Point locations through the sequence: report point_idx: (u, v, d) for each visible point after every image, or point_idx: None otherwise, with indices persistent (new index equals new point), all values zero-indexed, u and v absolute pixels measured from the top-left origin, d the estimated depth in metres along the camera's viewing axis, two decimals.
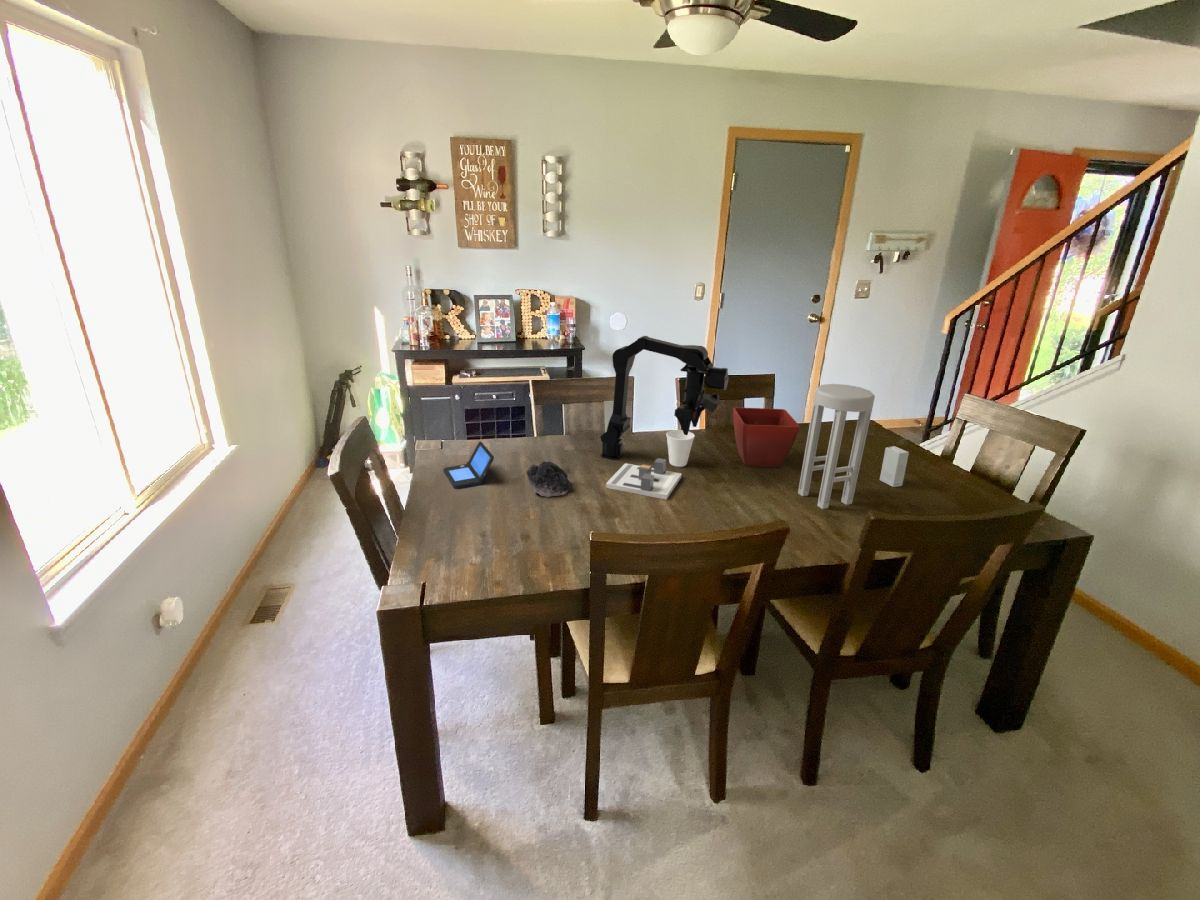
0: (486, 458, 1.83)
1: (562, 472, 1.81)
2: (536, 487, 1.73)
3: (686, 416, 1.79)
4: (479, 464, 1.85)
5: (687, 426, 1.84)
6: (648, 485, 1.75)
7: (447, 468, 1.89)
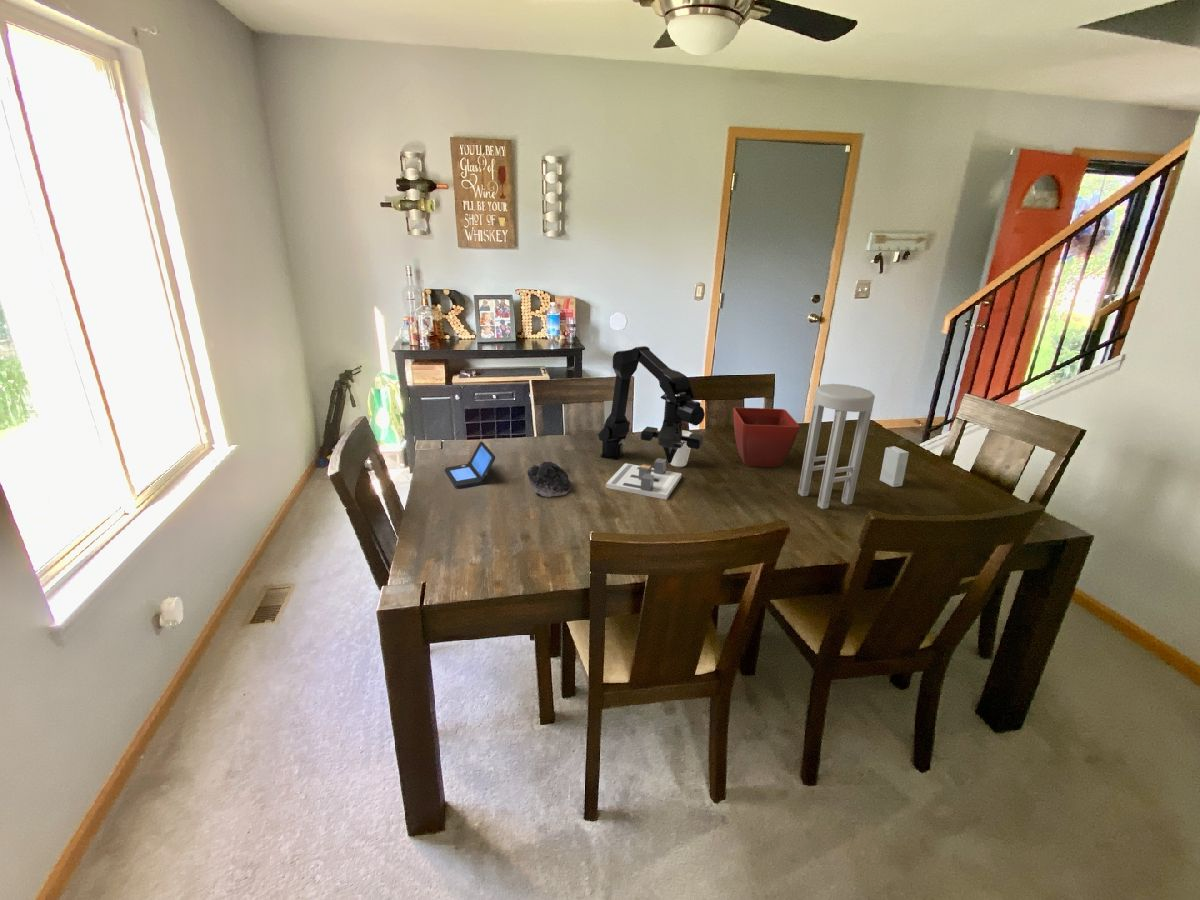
0: (487, 458, 1.83)
1: (563, 472, 1.81)
2: (537, 487, 1.73)
3: None
4: (480, 464, 1.85)
5: None
6: (648, 485, 1.75)
7: (448, 468, 1.89)
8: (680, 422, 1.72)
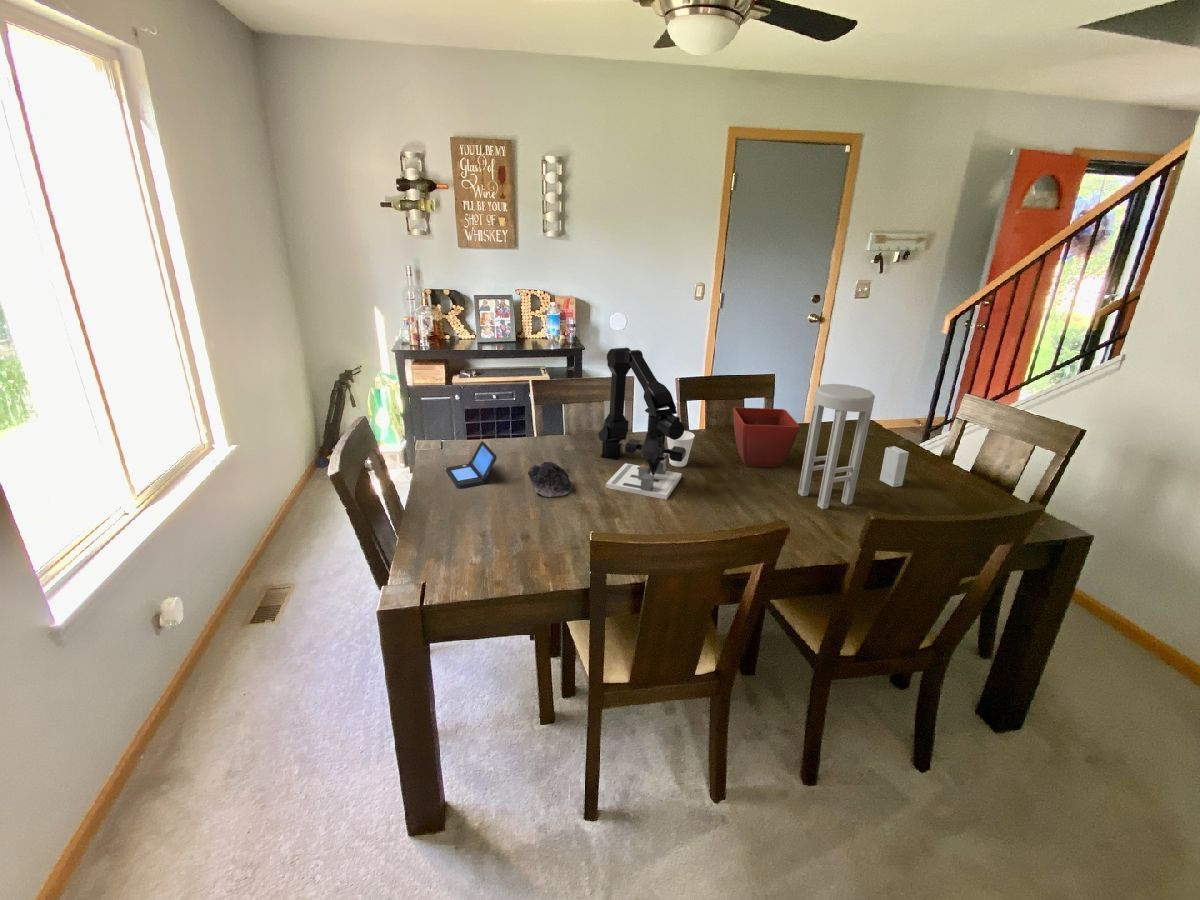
0: (489, 457, 1.83)
1: (563, 472, 1.81)
2: (538, 487, 1.73)
3: None
4: (482, 463, 1.85)
5: None
6: (648, 485, 1.75)
7: (449, 468, 1.89)
8: (663, 435, 1.76)
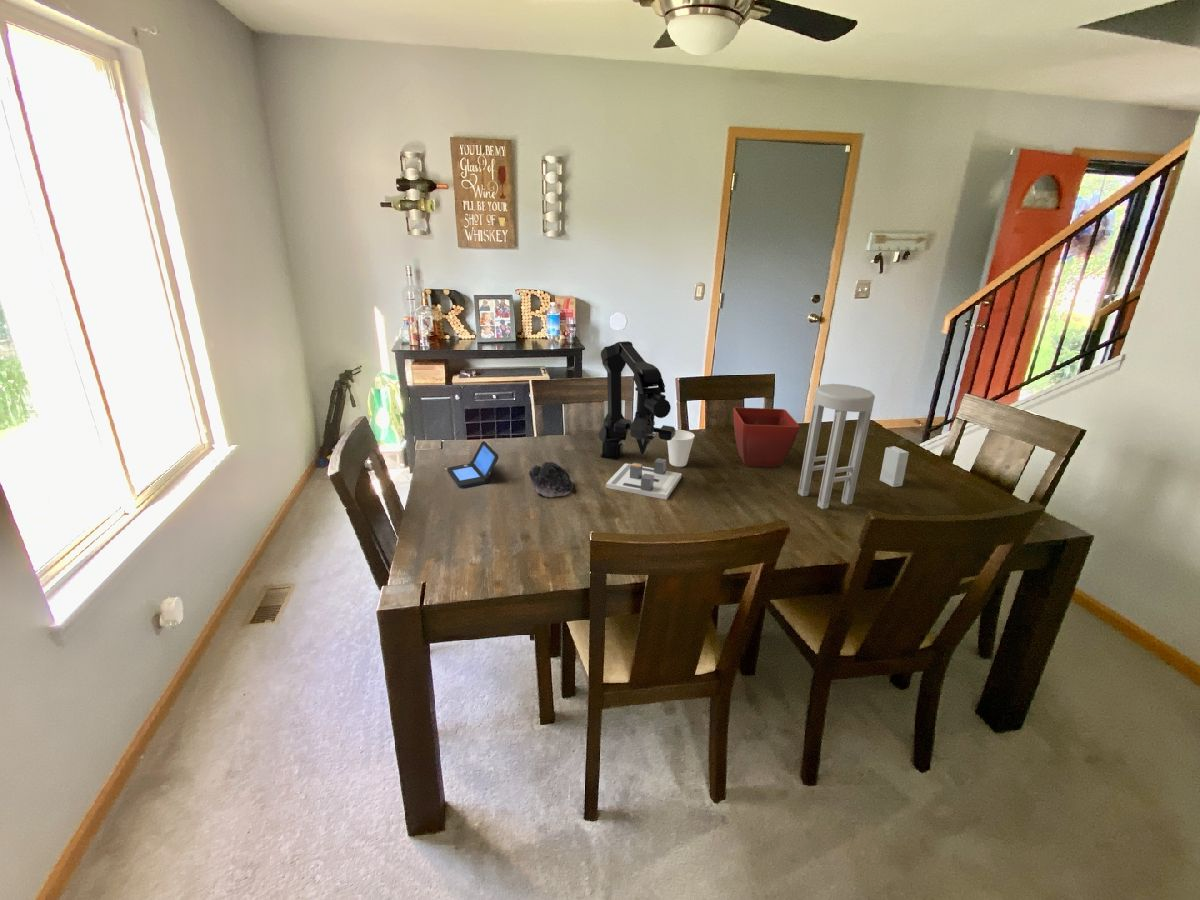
0: (490, 457, 1.83)
1: (564, 472, 1.81)
2: (539, 488, 1.73)
3: None
4: (483, 463, 1.86)
5: None
6: (648, 485, 1.75)
7: (451, 468, 1.89)
8: (652, 414, 1.75)
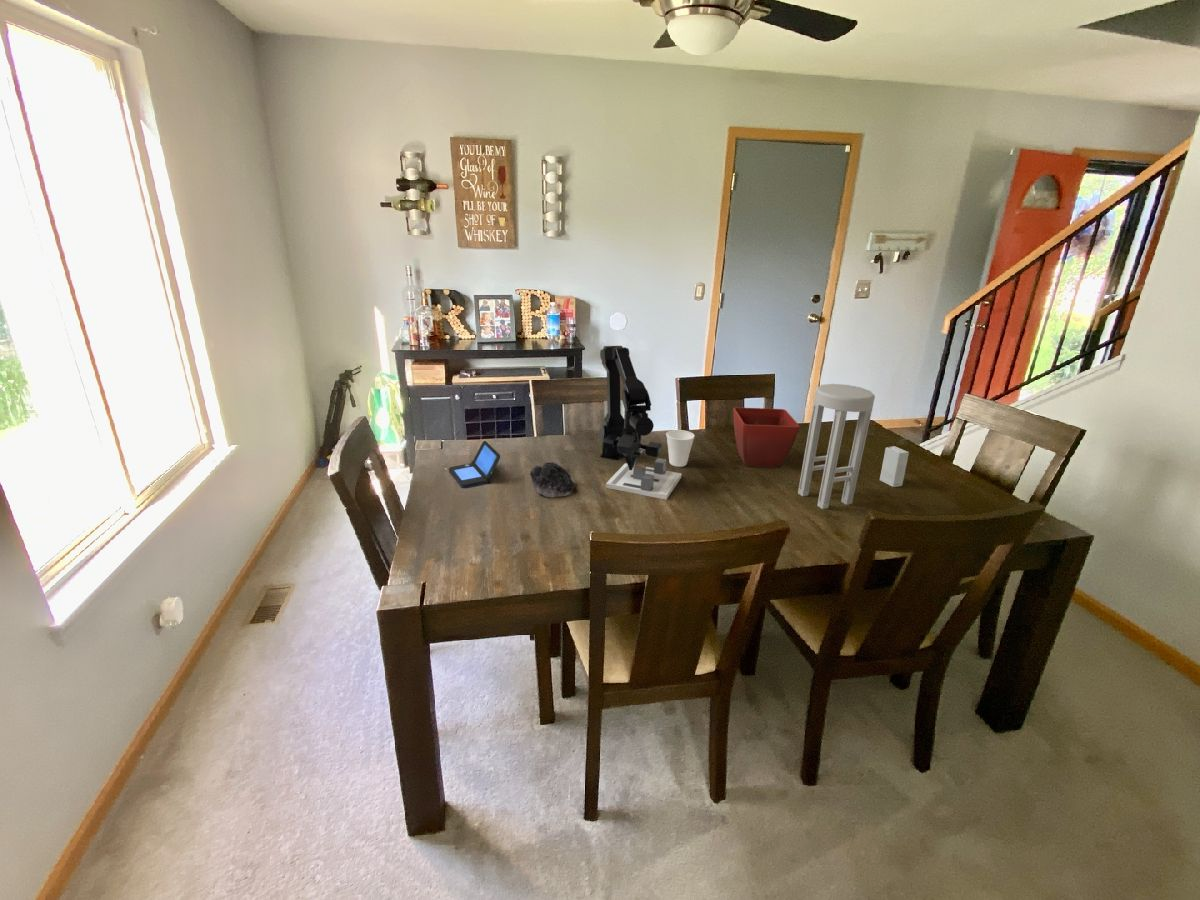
0: (492, 457, 1.84)
1: (565, 472, 1.81)
2: (540, 488, 1.72)
3: None
4: (485, 463, 1.86)
5: None
6: (648, 485, 1.75)
7: (452, 467, 1.89)
8: None
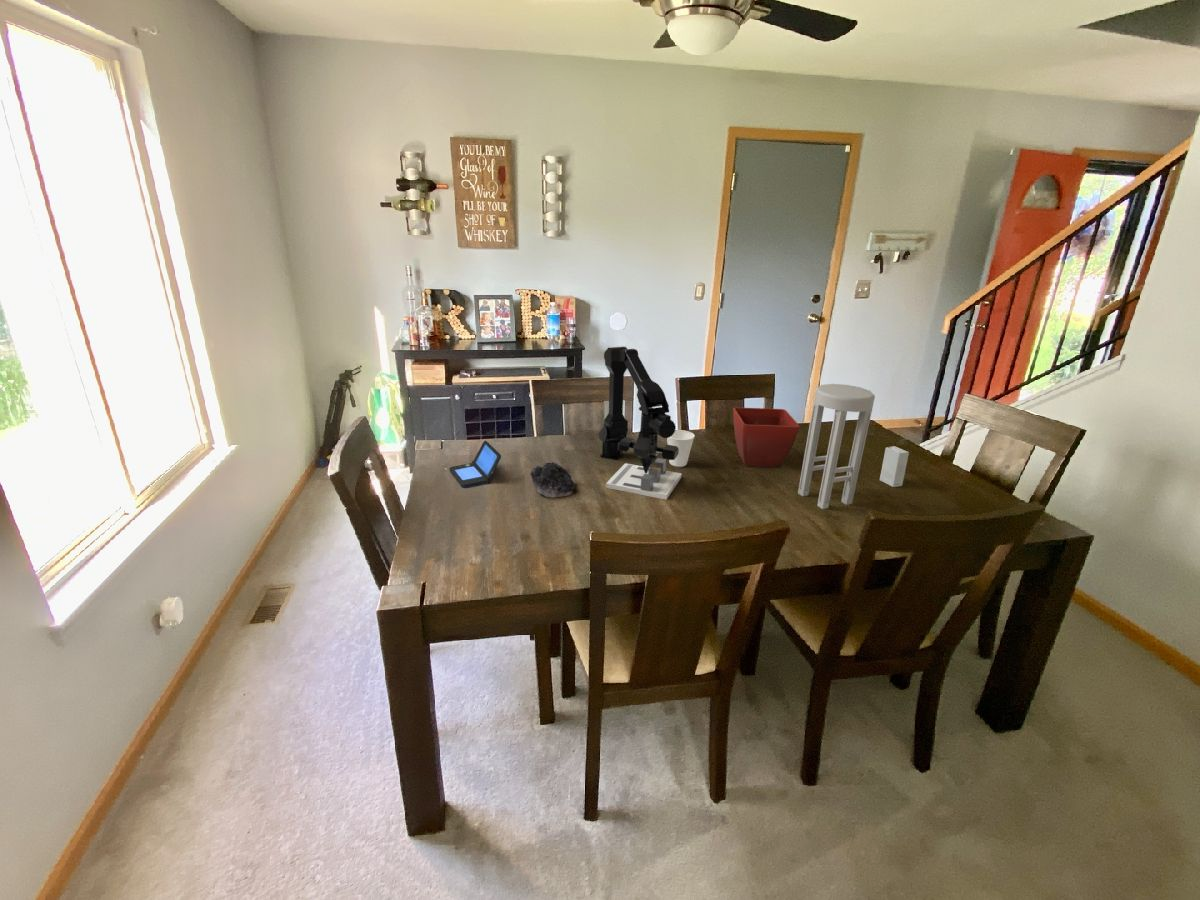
0: (493, 457, 1.84)
1: (566, 473, 1.81)
2: (541, 488, 1.72)
3: None
4: (485, 463, 1.86)
5: None
6: (648, 485, 1.75)
7: (453, 467, 1.89)
8: (656, 434, 1.77)
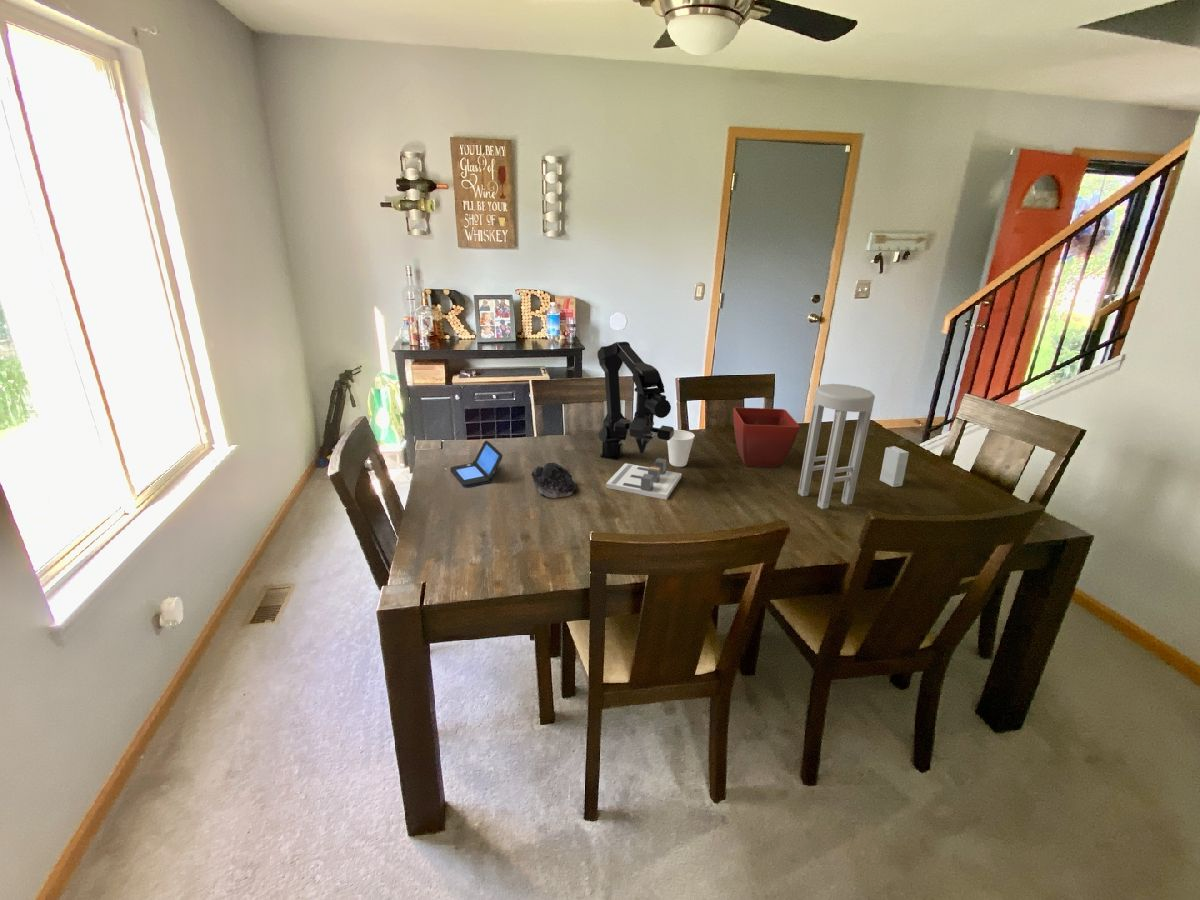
0: (494, 456, 1.84)
1: (566, 473, 1.81)
2: (542, 488, 1.72)
3: None
4: (487, 462, 1.86)
5: None
6: (648, 485, 1.75)
7: (454, 467, 1.89)
8: (651, 414, 1.78)
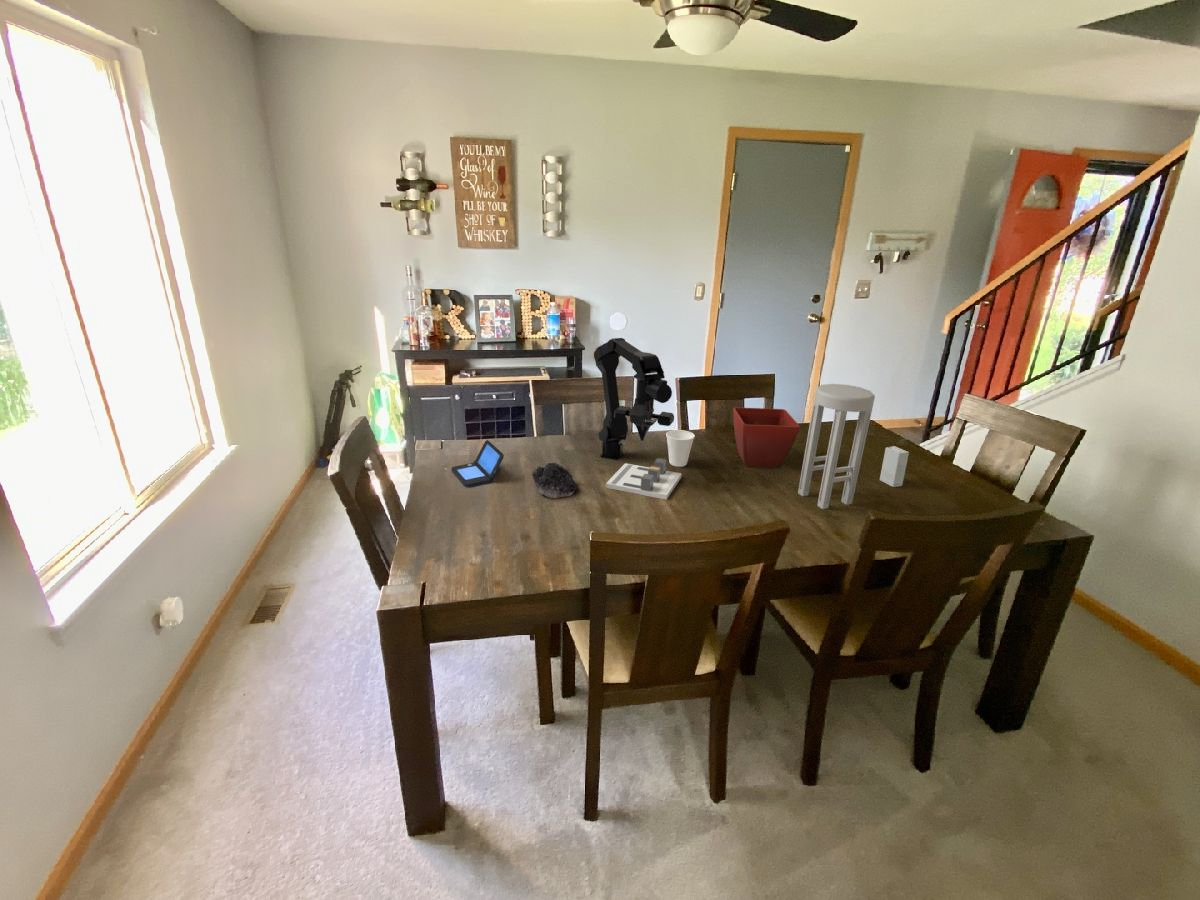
0: (495, 456, 1.84)
1: (567, 473, 1.81)
2: (543, 489, 1.72)
3: None
4: (488, 462, 1.87)
5: None
6: (648, 485, 1.75)
7: (455, 467, 1.90)
8: (651, 400, 1.79)
